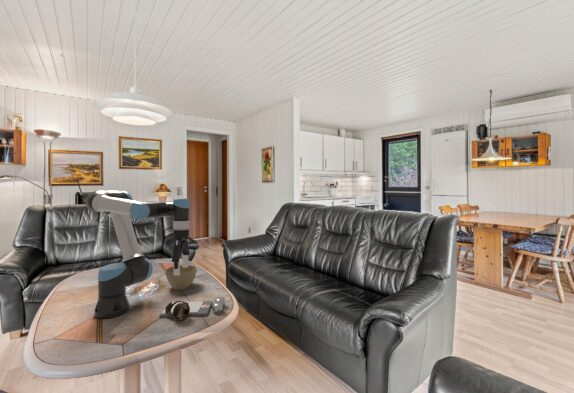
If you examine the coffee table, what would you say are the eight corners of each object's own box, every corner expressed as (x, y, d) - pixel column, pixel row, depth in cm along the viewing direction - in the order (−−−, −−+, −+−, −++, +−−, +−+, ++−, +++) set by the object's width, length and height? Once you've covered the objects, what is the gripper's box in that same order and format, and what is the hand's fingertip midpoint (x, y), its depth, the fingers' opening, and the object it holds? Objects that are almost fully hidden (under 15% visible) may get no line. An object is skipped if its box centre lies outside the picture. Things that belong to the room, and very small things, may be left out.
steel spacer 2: (211, 314, 135) (211, 306, 135) (213, 309, 140) (213, 302, 140) (222, 313, 135) (222, 305, 135) (223, 309, 140) (223, 301, 140)
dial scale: (159, 317, 131) (159, 313, 131) (170, 304, 146) (170, 301, 146) (206, 315, 133) (206, 312, 133) (212, 303, 148) (212, 300, 148)
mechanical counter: (195, 298, 134) (191, 319, 127) (177, 307, 139) (173, 328, 132) (183, 293, 130) (179, 314, 123) (165, 303, 135) (160, 323, 127)
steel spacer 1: (214, 308, 141) (214, 300, 141) (215, 304, 146) (215, 297, 146) (224, 308, 142) (224, 300, 142) (225, 304, 147) (225, 296, 147)
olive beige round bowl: (178, 295, 159) (178, 274, 159) (159, 289, 168) (159, 269, 168) (202, 286, 174) (202, 267, 174) (184, 281, 184) (184, 263, 184)
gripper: (181, 232, 126) (181, 278, 127) (195, 225, 151) (195, 264, 152) (164, 232, 126) (164, 278, 126) (181, 225, 151) (181, 264, 151)
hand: (181, 271), depth 139 cm, fingers open, 13 cm apart
